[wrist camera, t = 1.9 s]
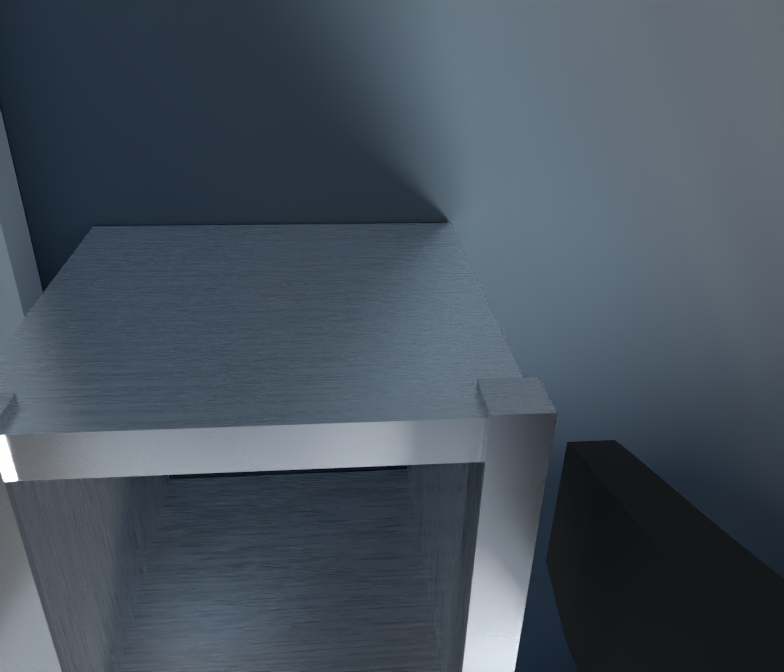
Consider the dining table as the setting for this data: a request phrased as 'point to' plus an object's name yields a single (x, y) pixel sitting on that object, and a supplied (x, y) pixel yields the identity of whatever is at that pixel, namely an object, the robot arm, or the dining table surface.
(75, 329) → the white boxy piece
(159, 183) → the dining table surface
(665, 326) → the dining table surface
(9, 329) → the duct plate
